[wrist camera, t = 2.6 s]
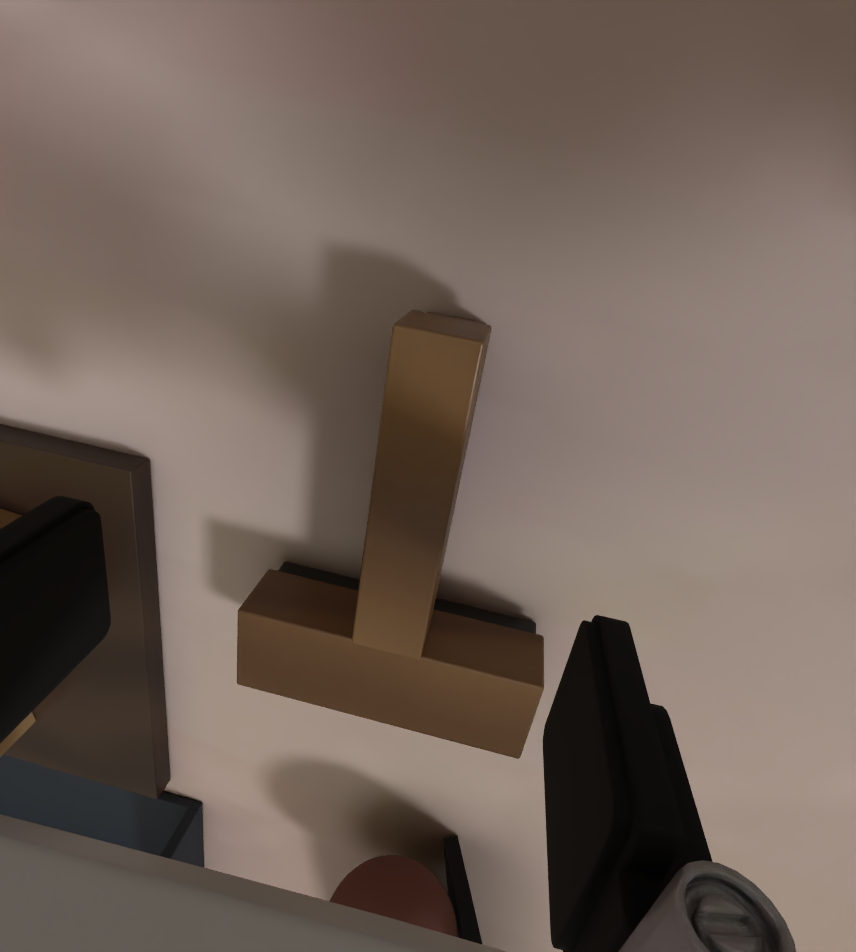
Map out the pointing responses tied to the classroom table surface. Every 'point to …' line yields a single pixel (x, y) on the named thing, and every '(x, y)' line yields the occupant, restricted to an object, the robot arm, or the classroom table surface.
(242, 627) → the brush
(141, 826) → the dustpan
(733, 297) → the classroom table surface
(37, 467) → the tray
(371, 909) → the character figurine
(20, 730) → the cork chip
